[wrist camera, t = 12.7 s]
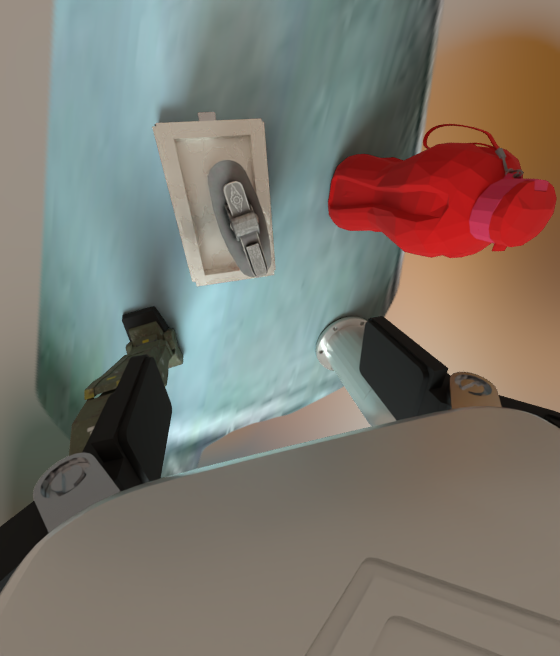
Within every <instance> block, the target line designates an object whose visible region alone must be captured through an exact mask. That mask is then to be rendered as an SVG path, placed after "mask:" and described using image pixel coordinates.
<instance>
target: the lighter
mask: <svg viewBox="0 0 560 656" xmlns="http://www.w3.org/2000/svg"><path fill="white" fill-rule="evenodd" d="M208 187H209V192H210V197H211V202H212V207H213V211H214V214H215V217H216V220H217V224H218V227H219V230H220V233H221V235H222V237H223V239H224V242H225V244H226V246H227V248H228V250H229V252H230V254H231V256H232V258H233V259H234V261H235V262H236V264H237V266H238V267H239V269H240V270H241V272H242V273H243V274H244V275H247V276H249V277H257V278H258V277H262V276H265V275H266V274H267V273H268V270H269V268H270V266H271V262H272V258H271V248H270V239H269V234H268V230H267V225H266V220H265V216H264V214H263V211H262V208H261V205H260V202H259V200H258V197H257V194H256V192H255V190H254V188H253V186H252V184H251V182H250V180H249V178H248V175H247V173H246V171H245V170H244V168H243V167H242V166H241V165H240V164H238V163H237V162H235V161H232V160H222V161H220V162H218V163H216V164H214V166H213V167H212V168H211V169H210V171H209V174H208Z"/></svg>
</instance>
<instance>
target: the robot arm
mask: <svg viewBox="0 0 560 656" xmlns="http://www.w3.org/2000/svg"><path fill="white" fill-rule="evenodd" d="M316 356H317V358H318V360H319V362H320V363H321V365H322V366H323V367H325V368H327V369H329V370H332V371H335V372H336V374H337V376H338V377H339V379H340V380H341V382H342V383H343V385H344V386H345V388H346V389H347V391H348V392H349V394H350V395H351V397H352V399H353V400H354V402H355V403H356V404H357V406H358V408H359V409H360V411H361V412H362V414H363V415H364V417H365V418H366V420H367V421H368V423H369V424H370V425H371V426H372V427H368V428H363V429H359V430H355V431H351V432H346V433H342V434H338V435H334V436H329V437H325V438H321V439H317V440H313V441H309V442H304V443H300V444H296V445H292V446H288V447H284V448H279V449H275V450H271V451H267V452H263V453H259V454H255V455H251V456H247V457H243V458H238V459H234V460H231V461H226V462H222V463H218V464H214V465H210V466H206V467H202V468H198V469H194V470H191V471H187V472H183V473H179V474H175V475H172V476H168V477H164V478H161V472H162V466H163V461H164V455H165V449H166V443H167V438H168V432H169V426H170V420H171V415H172V405H171V402H170V399H169V397H168V394H167V391H166V389H165V386H164V383H163V380H162V378H161V375H160V372H159V370H158V367H157V364H156V361H155V359H154V357H149V356H148V355H147V354H145V355H139V356H132V357H131V358H130V360H129V362H128V364H127V366H126V368H125V370H124V373H123V375H122V377H121V379H120V381H119V383H118V386H117V388H116V390H115V392H114V393H112V394H110V396H109V397H108V399H107V402H106V404H105V406H104V408H103V410H102V412H101V414H100V416H99V418H98V420H97V422H96V424H95V427H94V429H93V431H92V433H91V435H90V437H89V439H88V441H87V443H86V445H85V447H84V450H83V452H82V453H76V454H73V455H70V456H68V457H66V458H64V459H62V460H60V461H58V462H57V463H56V464H54V465H53V466H52V467H50V468H49V469H48V470H47V471H46V472H45V473H44V474H43V475H42V476H41V478H40V479H39V480H38V482H37V484H36V485H35V488H34V491H33V497H34V501H33V502H32V503H31V504H29V505H28V506H27V507H26V508H24V509H23V510H22V511H20V512H19V513H18V514H16V515H15V516H14V517H12V518H11V519H10V520H8V521H7V522H6V523H5V524H3V525H2V526H1V527H0V656H560V413H558V412H556V411H553V410H549V409H545V408H542V407H539V406H535V405H532V404H528V403H524V402H521V401H517V400H514V399H511V398H507V397H504V396H500V395H498V391H497V389H496V387H495V386H494V385H493V384H492V383H491V382H490V381H488V380H487V379H485V378H483V377H481V376H479V375H476V374H473V373H469V372H457V373H453V374H452V375H451V376H450V375H449V374H448V373H447V370H448V368H447V367H446V366H444V365H443V364H442V363H441V362H440V361H438V360H437V359H436V358H434V357H433V356H432V355H431V354H430V353H428V352H427V351H426V350H424V349H423V348H422V347H421V346H419V345H418V344H417V343H416V342H414V341H413V340H412V339H411V338H409V337H408V336H407V335H406V334H404V333H403V332H402V331H401V330H399V329H398V328H397V327H396V326H394V325H393V324H392V323H391V322H389V321H388V320H387V319H386V318H384V317H383V316H380V317H374V318H370V319H369V320H368V321H366V320H365V319H363V318H360V317H345V318H342V319H339V320H337V321H335V322H334V323H332V324H331V325H329V326H328V327H327V328H326V329H325V330H324V331H323V332H322V334H321V335H320V337H319V339H318V341H317V345H316Z"/></svg>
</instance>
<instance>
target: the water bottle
mask: <svg viewBox="0 0 560 656" xmlns="http://www.w3.org/2000/svg"><path fill="white" fill-rule="evenodd" d="M443 126H463V127H468V128H472V129H475V130H478V131H481V132H483V133H485V134H486V135H487V136H488V138H489V139H490V141H491V143H492V144H493V146H494V147H493V146H490V145H486V144H482V143H445V144H438V145H435V146H434V147H431V148H429V147H428V146H427V138H428V136H429V134H430V133H431V132H432V131H433V130H435V129H436V128H439V127H443ZM474 144H480V145H484V146H488V147H490V148H488V147H477V146H476V145H474ZM423 145H424V146H425V147H426V148H427V150H425V151H423V152H421V153H419V154H417V155H415V156H412V157H410V158H408V159H406V160H404V161H403V160H400V159H397V158H394V157H391V158H379V157H375V156H372V155H368V154H356V155H353V156H349V157H347V158H346V159H345V160H344V161H343V162H342V163H340V164H339V165H338V166H337V168H336V170H335V173H334V175H333V178H332V181H331V186H330V194H329V199H328V209H329V215H330V217H331V219H332V220H333V222H334V223H335V224H336V225H337V226H338V227H340V228H343V229H346V230H349V231H366V230H371V231H375V232H383V233H384V234H385V235H386V236H387V237H388V238H389V239H391V240H392V241H393V242H394V243H395V244H396V245H397V246H399V247H400V248H401V249H402V250H403V251H404V252H408V253H412V254H416V255H421V256H426V257H436V256H440V255H444V256H446V257H449V258H457V257H464V256H468V255H472V254H475V253H477V252H479V251H481V250H483V249H484V248H485V247H487V246H488V245H490V244H491V243H495V244H494V246H493V249H492V251H505V249H506V247H507V246H508V247H514V246H521V245H523V244H525V243H526V242H528V241H530V240H531V239H533V238H534V237H536V236H537V235H538V234H539V233H540V232H541V231H542V230H543V229H544V227H545V226H546V224H547V223H548V221H549V219H550V218H551V216H552V215H553V212H554V208H555V204H556V194H555V190H554V187H553V186H552V185H551V184H550V183H548V181H546V180H539V179H523V173H524V172H523V171H522V170H521V167H520V163H519V160H518V159H517V158H516V157H514V156H513V155H512V154H511V153H509V152H508V151H507V150H505V149H502V148H499V146H498V145H497V144H496V142H495V140H494V139H493V137H492V135H491V134H490V133H488V132H486V131H484V130H481V129H477V128H474V127H469V126H464V125H457V124H443V125H438V126H435V127H433V128H431V129H430V130H429V131H428V132H427V133H426V134H425V137H424V139H423Z"/></svg>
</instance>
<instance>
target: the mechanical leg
mask: <svg viewBox="0 0 560 656" xmlns="http://www.w3.org/2000/svg"><path fill="white" fill-rule="evenodd" d="M122 322H123V324H124V327H125V330H126V332H127V335H128V337H129V340H130V342H129V343H128V344H127V345H126V351H127V355H124V356H123V357H122V358H121V359H120V360H119V361H118V362H117V363H116V364H115V365H113V366H112V367H111V368H110V369H109V370H108V371H107V372H106V373H105V374H103V375H102V376H101V377H100V378H98V379H97V380H95V381H94V382H92V383H91V384H90V385H89V386H88V387H87V388H86V389H85V400H86V399H87V401H86V403H85V404H84V406H83V408H82V409H81V411H80V412H79V414H78V416H77V417H76V419H75V421H74V422H73V424H72V430H71V440H70V450H69V456H70V455H73V454H76V453H82V452H83V450H84V447H85V445H86V443H87V441H88V439H89V437H90V435H91V433H92V431H93V429H94V427H95V424H96V422H97V420H98V418H99V416H100V414H101V412H102V410H103V408H104V406H105V404H106V402H107V399H108V397H109V396H110V394H112V393H114V392H115V390H116V388H117V386H118V383H119V381H120V379H121V377H122V375H123V373H124V370H125V368H126V366H127V364H128V362H129V360H130V358H131V357H132V356H139V355H145V354H147V355H148V356H149V357H154V359H155V361H156V364H157V367H158V370H159V372H160V375H161V378H162V380H163V383H164V386H166V385H167V379H168V368H171V367H174V366H177V365H181V364H183V355H182V353H181V351H180V349H179V347H178V345H177V341H176V337H175V336H176V333H175V331H174V329H169V326H168V325H167V324H166V322H165V321H164V319H163V318H162V316H161V315H160V313H159V312H158V310H157V309H156V308H155V307H154V306H153V307H149V308H146V309H142V310H139V311H135V312H132V313H128V314H125V315H123V317H122ZM100 393H102V394H101V395H100V396H99V397H98V398H95V399H94V398H93V397H95V396H96V395H97V394H100Z"/></svg>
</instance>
